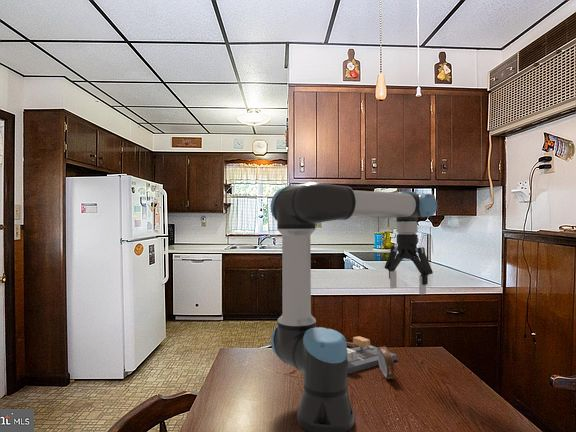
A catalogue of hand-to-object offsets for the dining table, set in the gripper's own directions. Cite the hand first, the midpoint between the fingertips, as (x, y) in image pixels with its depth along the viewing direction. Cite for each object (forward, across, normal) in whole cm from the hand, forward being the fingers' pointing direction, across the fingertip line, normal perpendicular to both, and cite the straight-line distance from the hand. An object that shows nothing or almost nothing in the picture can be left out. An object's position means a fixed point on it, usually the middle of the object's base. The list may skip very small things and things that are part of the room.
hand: (407, 291), depth 140 cm
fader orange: (+26, +18, +6) cm, 32 cm away
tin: (+28, 0, +12) cm, 31 cm away
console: (+28, +14, +13) cm, 34 cm away
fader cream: (+26, +11, +20) cm, 34 cm away
